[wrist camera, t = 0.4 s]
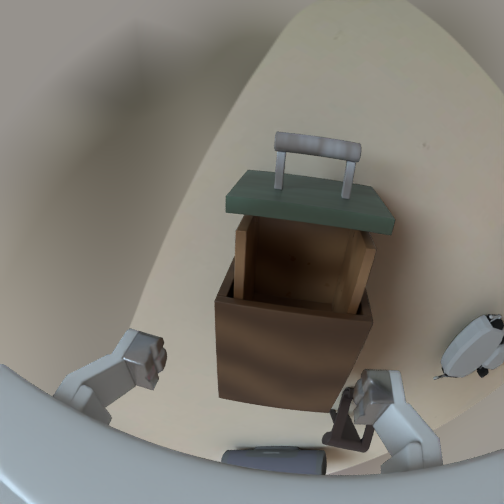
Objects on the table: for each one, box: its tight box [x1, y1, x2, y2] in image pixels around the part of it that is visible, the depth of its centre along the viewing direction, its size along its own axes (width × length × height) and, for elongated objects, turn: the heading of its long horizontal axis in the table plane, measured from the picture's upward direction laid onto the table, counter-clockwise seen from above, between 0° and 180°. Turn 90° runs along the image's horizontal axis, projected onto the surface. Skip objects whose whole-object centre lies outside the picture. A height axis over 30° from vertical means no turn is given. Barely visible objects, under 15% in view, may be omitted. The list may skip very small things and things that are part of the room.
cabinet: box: [214, 256, 373, 413], centre depth 29 cm, size 15×13×10 cm
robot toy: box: [433, 314, 504, 380], centre depth 29 cm, size 12×4×15 cm
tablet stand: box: [322, 388, 374, 452], centre depth 38 cm, size 9×8×8 cm
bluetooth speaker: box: [221, 446, 327, 475], centre depth 51 cm, size 23×9×10 cm, turn 108°
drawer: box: [226, 132, 395, 315], centre depth 24 cm, size 18×11×8 cm, turn 177°
